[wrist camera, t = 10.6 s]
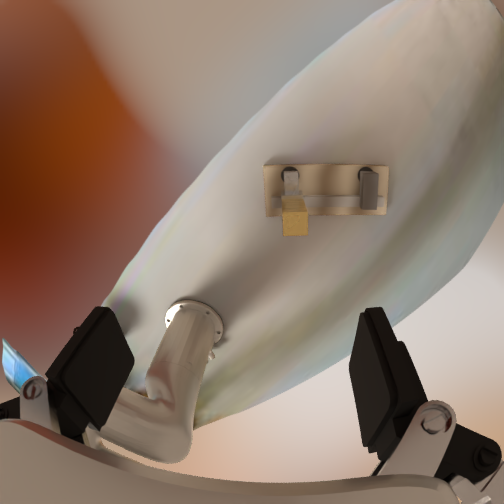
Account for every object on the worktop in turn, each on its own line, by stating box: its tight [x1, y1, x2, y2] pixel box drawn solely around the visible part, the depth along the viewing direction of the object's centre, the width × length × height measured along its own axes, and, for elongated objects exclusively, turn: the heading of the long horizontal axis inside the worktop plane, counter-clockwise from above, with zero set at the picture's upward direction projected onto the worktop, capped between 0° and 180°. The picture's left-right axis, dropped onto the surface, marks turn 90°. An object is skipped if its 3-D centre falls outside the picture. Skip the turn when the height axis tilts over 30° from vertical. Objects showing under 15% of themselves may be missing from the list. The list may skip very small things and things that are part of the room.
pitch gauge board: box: [263, 164, 389, 217], centre depth 41 cm, size 20×8×4 cm, turn 94°
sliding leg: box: [281, 171, 308, 236], centre depth 37 cm, size 3×7×10 cm, turn 4°
